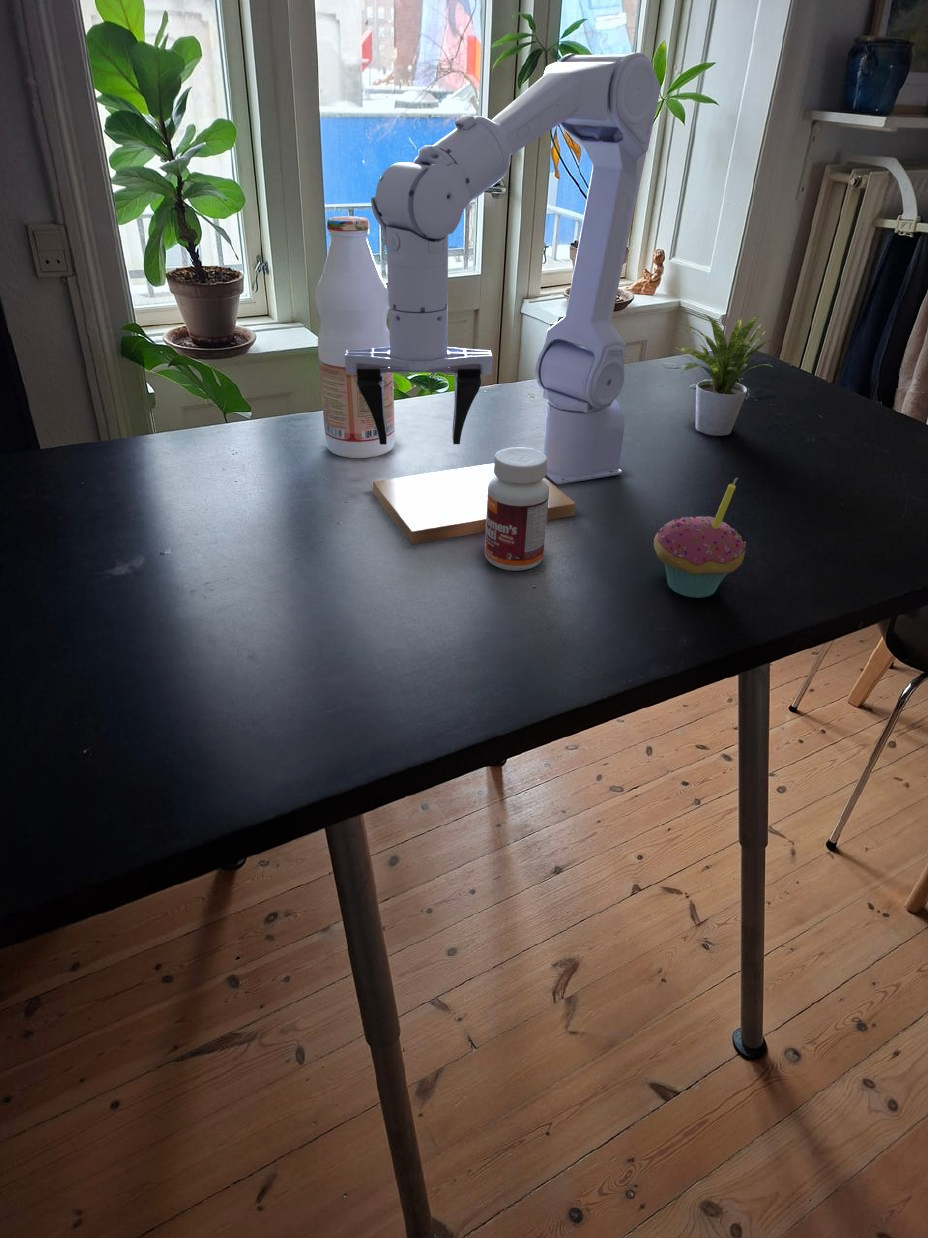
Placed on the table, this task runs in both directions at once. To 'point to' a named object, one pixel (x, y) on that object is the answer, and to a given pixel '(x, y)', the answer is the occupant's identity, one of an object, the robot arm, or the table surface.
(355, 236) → the fruit juice
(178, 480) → the table surface
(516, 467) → the pill bottle
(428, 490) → the oak board
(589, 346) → the robot arm
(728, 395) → the house plant
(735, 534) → the cupcake
